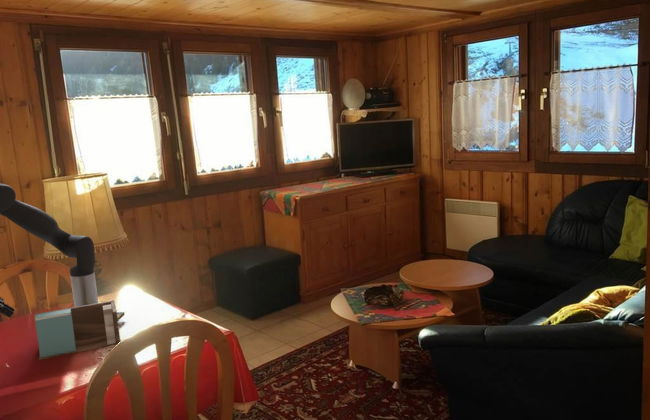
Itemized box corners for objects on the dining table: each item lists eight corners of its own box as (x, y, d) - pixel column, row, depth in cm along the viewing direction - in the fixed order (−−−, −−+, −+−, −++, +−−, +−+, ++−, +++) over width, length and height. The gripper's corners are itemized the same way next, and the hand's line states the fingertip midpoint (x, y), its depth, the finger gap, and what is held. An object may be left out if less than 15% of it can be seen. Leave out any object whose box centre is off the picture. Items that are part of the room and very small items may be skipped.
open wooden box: (41, 349, 197) (35, 310, 195) (118, 334, 208) (113, 297, 205) (39, 363, 186) (33, 323, 183) (120, 347, 196) (116, 308, 193)
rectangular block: (41, 353, 190) (35, 314, 188) (75, 346, 195) (70, 308, 192) (40, 357, 187) (34, 318, 184) (75, 350, 191) (70, 312, 189)
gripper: (-33, 281, 170) (18, 311, 177) (-26, 269, 183) (22, 298, 190) (-50, 300, 169) (2, 330, 176) (-42, 287, 182) (6, 315, 189)
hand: (12, 313), depth 183 cm, fingers closed
